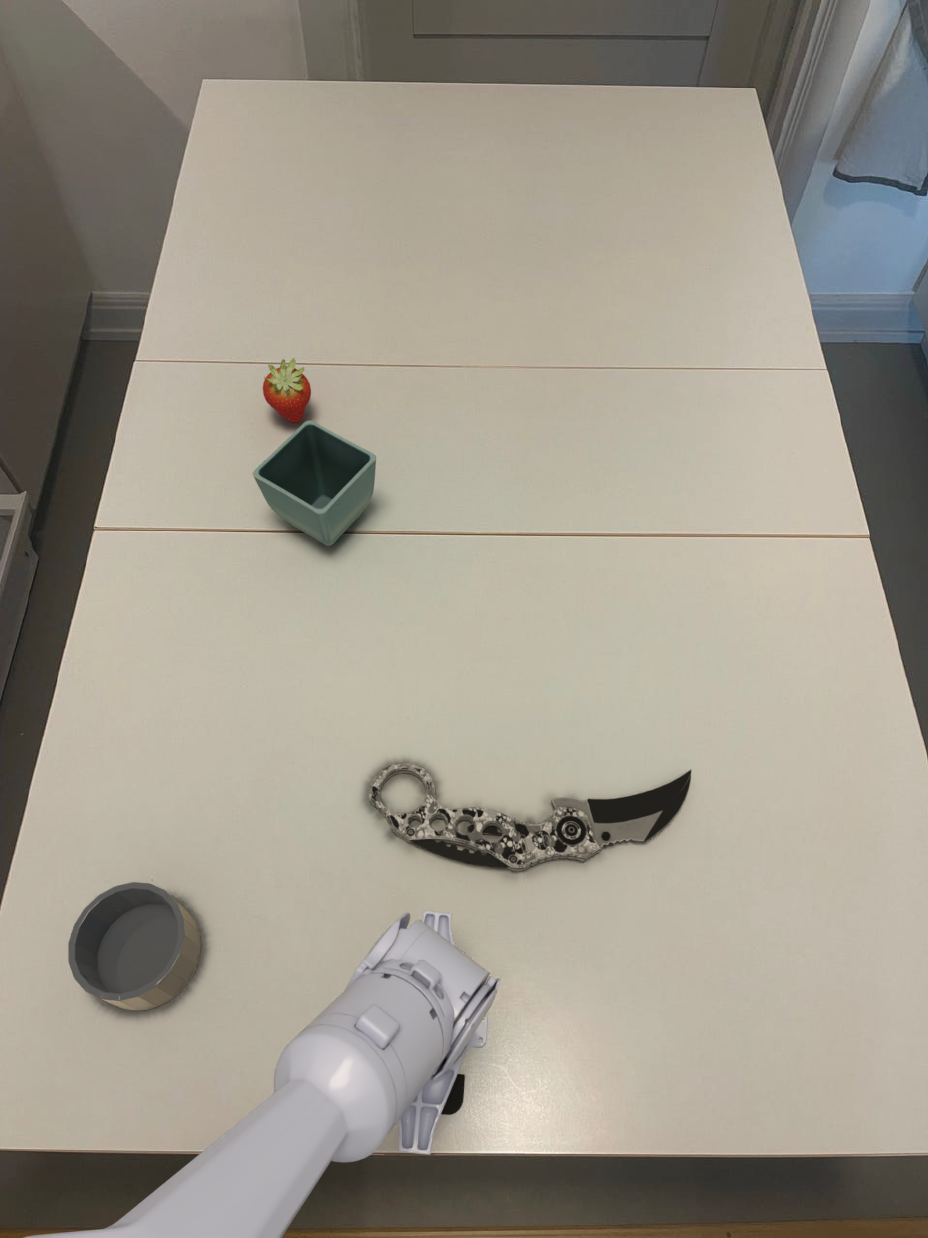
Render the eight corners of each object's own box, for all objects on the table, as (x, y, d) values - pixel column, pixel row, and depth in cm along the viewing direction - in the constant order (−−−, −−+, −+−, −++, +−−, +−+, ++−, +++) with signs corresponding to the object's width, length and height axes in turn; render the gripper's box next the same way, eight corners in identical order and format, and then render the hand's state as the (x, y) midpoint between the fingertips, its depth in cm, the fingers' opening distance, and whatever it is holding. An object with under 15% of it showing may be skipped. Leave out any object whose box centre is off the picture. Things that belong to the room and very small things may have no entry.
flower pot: (265, 529, 92) (249, 472, 85) (319, 475, 96) (308, 417, 88) (331, 569, 90) (321, 514, 82) (383, 512, 94) (378, 455, 86)
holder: (186, 1015, 68) (167, 1005, 64) (79, 1005, 68) (52, 994, 64) (211, 904, 73) (195, 887, 68) (110, 895, 73) (87, 877, 68)
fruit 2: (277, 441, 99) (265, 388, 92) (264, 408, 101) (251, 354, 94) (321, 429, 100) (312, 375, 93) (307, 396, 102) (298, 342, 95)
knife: (693, 765, 78) (704, 877, 73) (689, 773, 80) (699, 883, 74) (374, 748, 79) (360, 857, 73) (375, 755, 80) (362, 864, 74)
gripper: (482, 1160, 50) (474, 1159, 62) (498, 901, 58) (488, 943, 70) (359, 1148, 51) (374, 1149, 62) (391, 891, 58) (399, 935, 70)
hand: (428, 1040), depth 66 cm, fingers closed on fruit, 5 cm apart
